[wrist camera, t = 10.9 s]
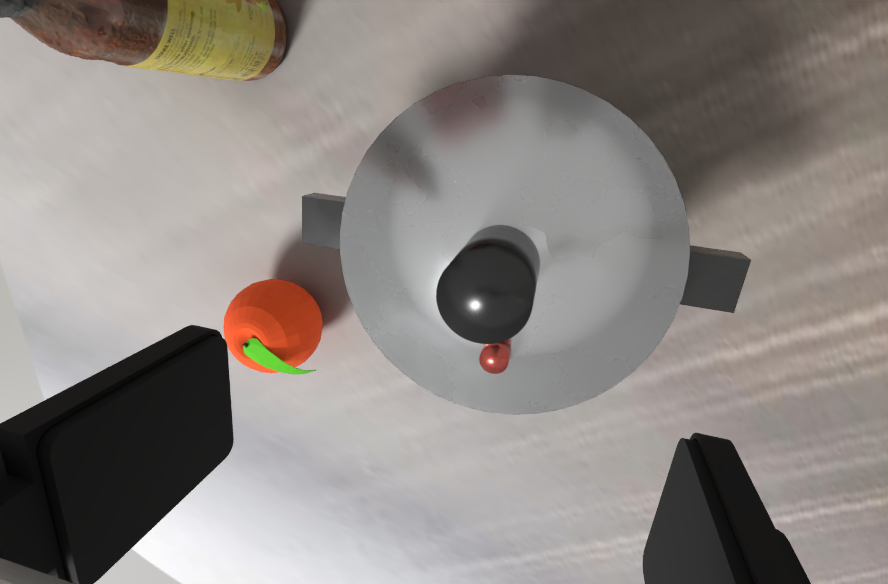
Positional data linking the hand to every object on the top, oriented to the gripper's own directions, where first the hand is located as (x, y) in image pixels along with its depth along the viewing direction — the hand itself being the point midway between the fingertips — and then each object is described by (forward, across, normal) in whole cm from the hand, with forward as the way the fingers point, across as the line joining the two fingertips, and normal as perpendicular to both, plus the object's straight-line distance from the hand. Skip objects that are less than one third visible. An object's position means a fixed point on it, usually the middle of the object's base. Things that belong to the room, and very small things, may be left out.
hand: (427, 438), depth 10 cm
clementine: (+25, +17, +10) cm, 32 cm away
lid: (+15, 0, 0) cm, 15 cm away
